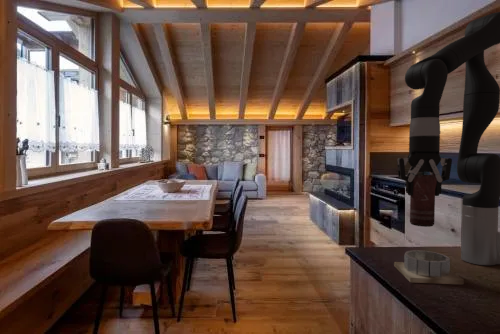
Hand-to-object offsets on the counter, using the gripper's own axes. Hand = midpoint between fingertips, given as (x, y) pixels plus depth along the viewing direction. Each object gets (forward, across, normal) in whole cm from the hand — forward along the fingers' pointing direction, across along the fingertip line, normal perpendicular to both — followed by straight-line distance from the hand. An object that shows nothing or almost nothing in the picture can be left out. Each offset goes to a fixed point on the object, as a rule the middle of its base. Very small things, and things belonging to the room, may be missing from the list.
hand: (423, 195), depth 95 cm
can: (+8, 0, 0) cm, 8 cm away
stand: (+22, -1, +2) cm, 22 cm away
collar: (+20, -1, +2) cm, 21 cm away
